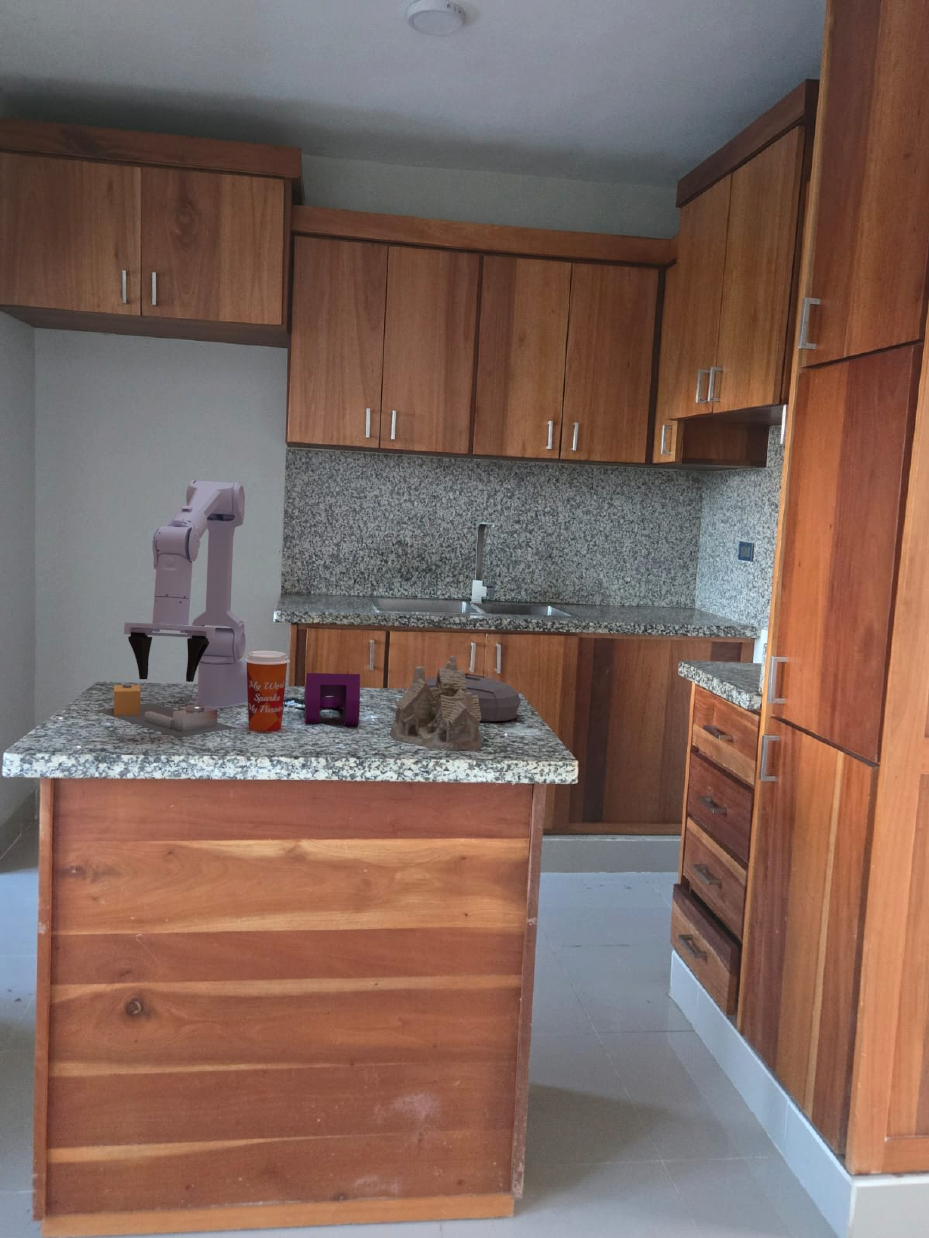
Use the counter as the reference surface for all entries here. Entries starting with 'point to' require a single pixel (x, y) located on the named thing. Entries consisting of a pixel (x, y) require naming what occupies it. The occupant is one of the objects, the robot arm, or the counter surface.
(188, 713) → the sliding latch
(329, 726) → the counter surface
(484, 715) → the grey rounded bag
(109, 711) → the mat
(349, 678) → the mounting bracket
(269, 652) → the paper cup
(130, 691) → the block
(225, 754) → the counter surface
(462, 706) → the ceramic cottage
